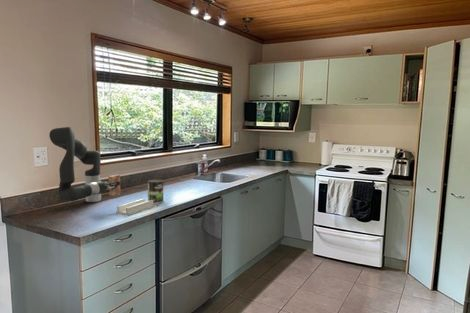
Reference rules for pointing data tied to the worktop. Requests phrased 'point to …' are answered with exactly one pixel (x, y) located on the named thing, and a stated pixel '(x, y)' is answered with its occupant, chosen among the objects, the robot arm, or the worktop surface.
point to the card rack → (134, 207)
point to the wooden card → (117, 190)
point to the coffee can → (155, 190)
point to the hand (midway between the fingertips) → (117, 182)
